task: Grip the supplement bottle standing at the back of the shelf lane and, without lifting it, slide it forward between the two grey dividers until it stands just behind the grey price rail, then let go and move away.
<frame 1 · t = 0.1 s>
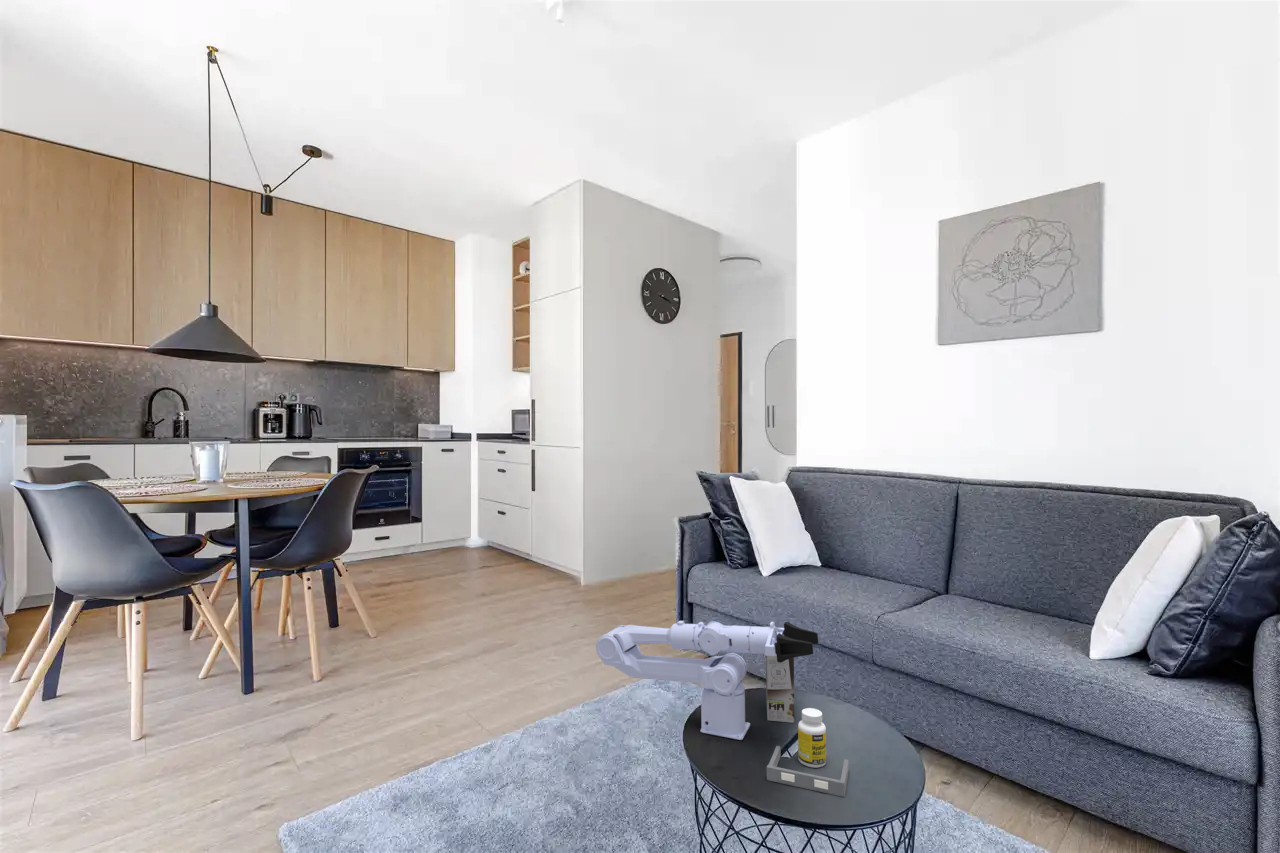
hand: (815, 643, 126), 22 cm above the table, tool horizontal, fingers open, 7 cm apart
price rail: (804, 787, 110), on the table
supplement bottle: (812, 762, 119), on the table
coffee box: (780, 714, 141), on the table
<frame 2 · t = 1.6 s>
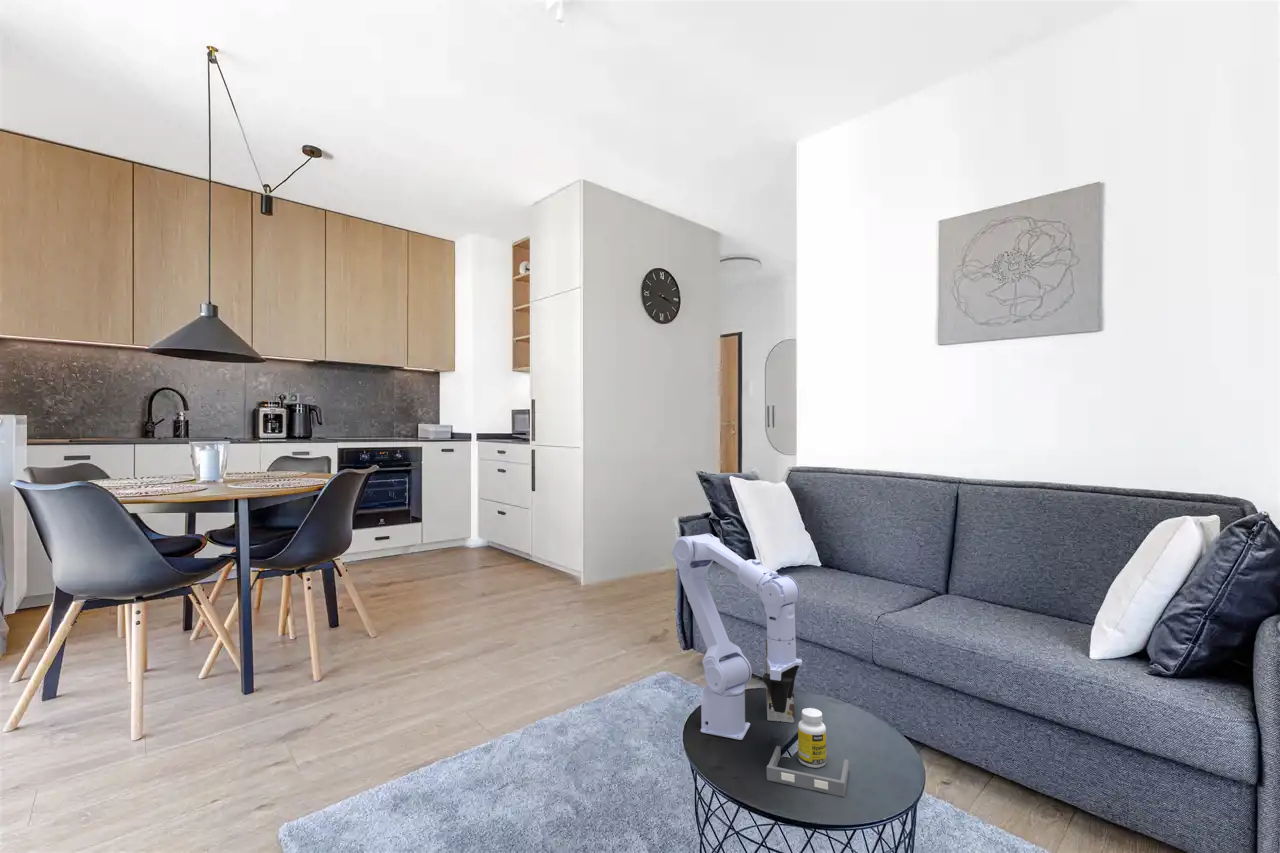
hand: (783, 704, 122), 10 cm above the table, tool pointing down, fingers open, 7 cm apart
nothing on the table moved.
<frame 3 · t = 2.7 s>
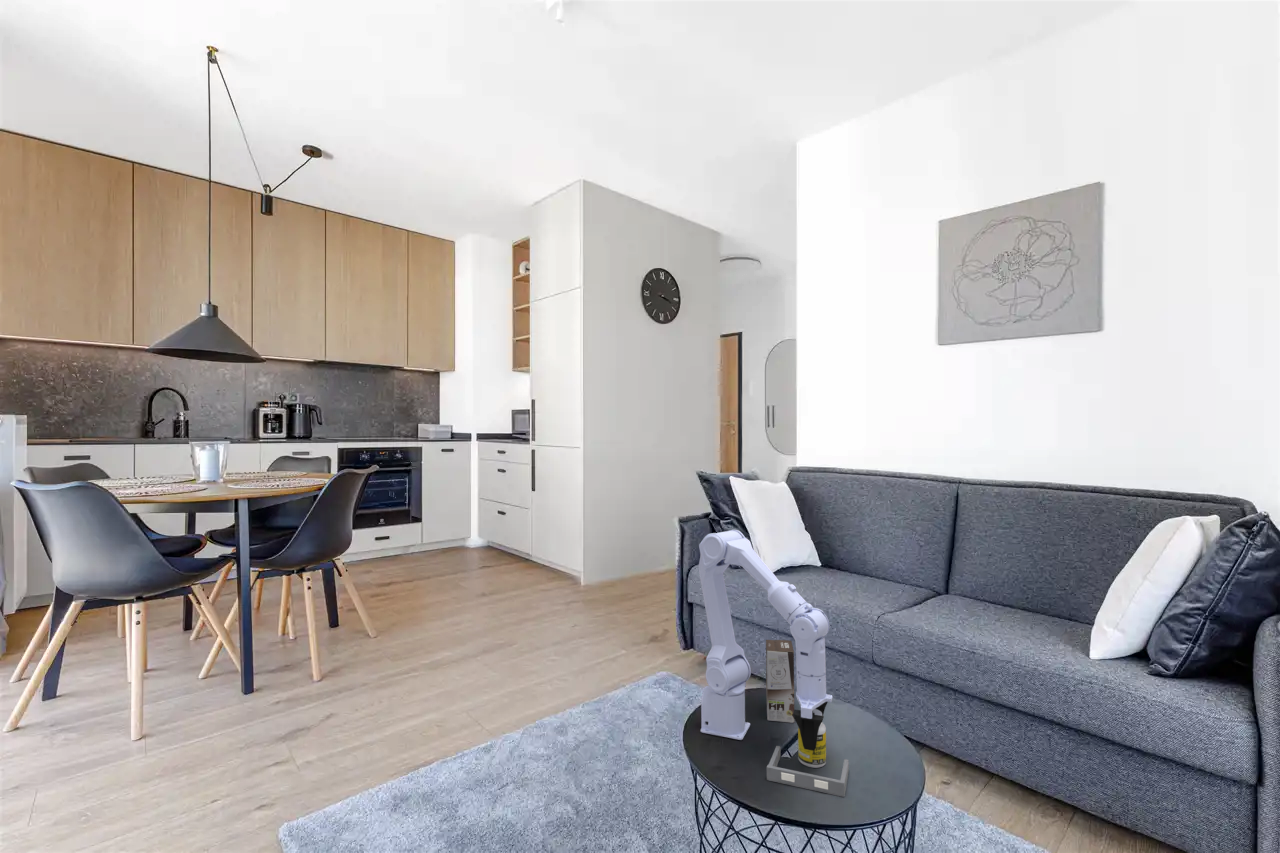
hand: (812, 740, 119), 4 cm above the table, tool pointing down, fingers open, 7 cm apart
nothing on the table moved.
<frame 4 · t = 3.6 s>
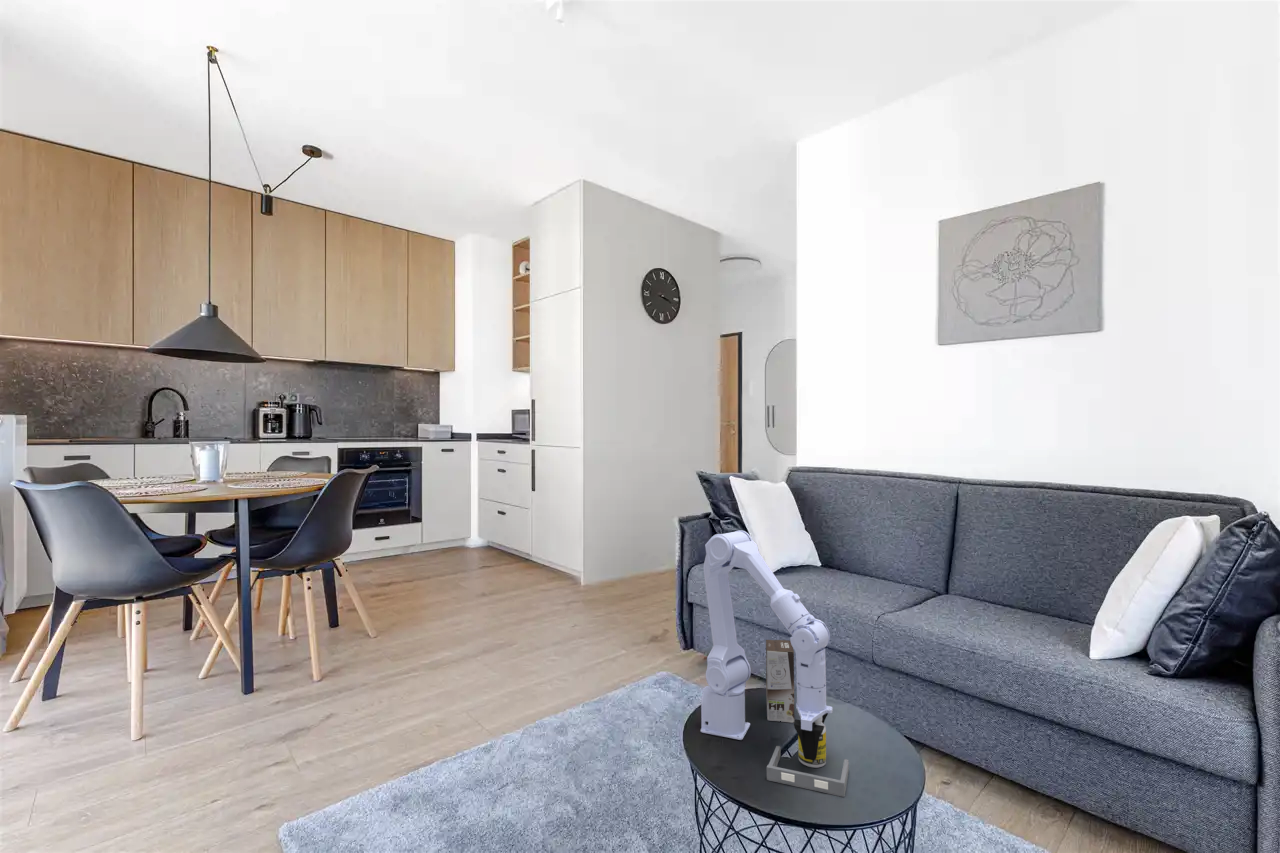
hand: (812, 751, 119), 2 cm above the table, tool pointing down, fingers closed on supplement bottle, 5 cm apart
supplement bottle: (812, 762, 119), on the table, touching gripper
everything else where it was.
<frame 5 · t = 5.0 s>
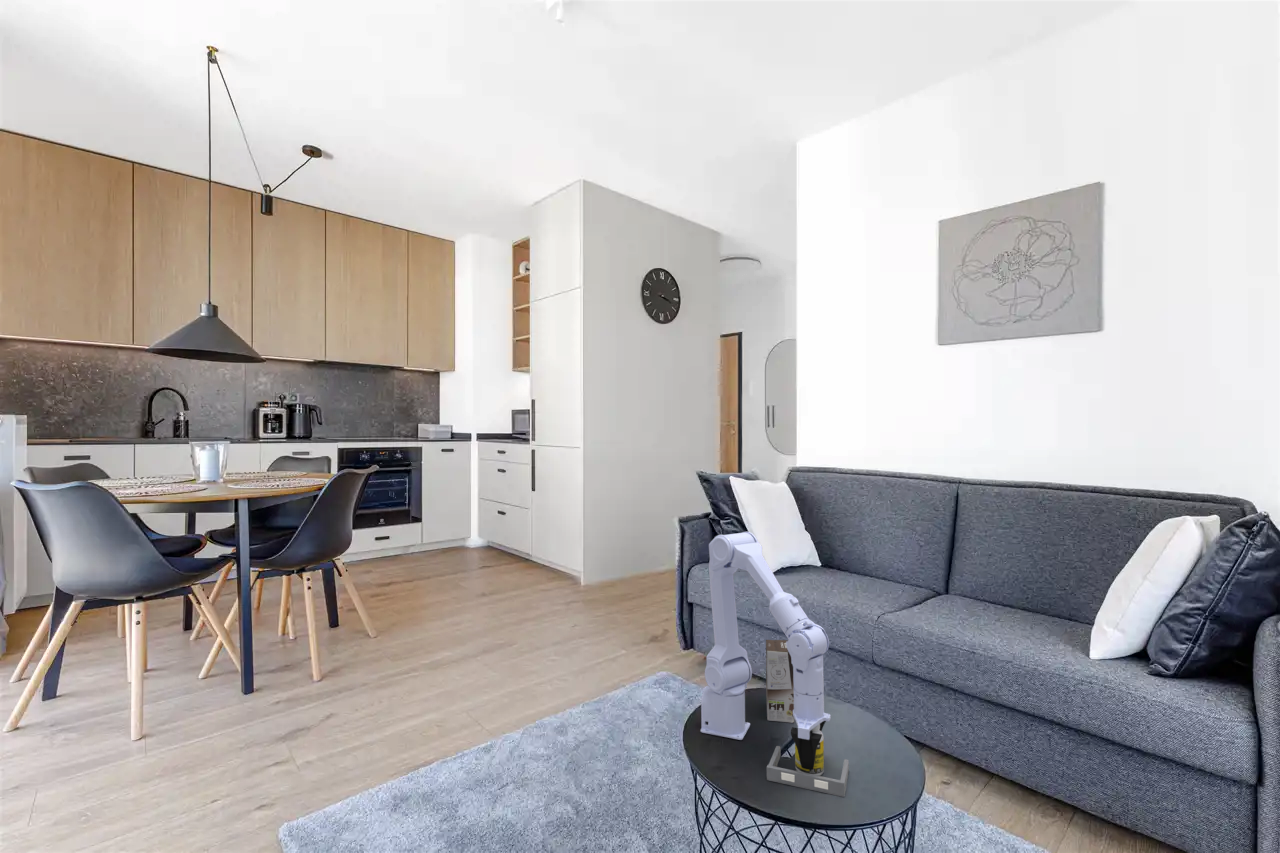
hand: (809, 760, 116), 2 cm above the table, tool pointing down, fingers closed on supplement bottle, 5 cm apart
supplement bottle: (809, 771, 116), on the table, touching gripper
everything else where it was.
when the fingers open (2 cm above the table, at t = 5.7 s): supplement bottle stays where it is, on the table.
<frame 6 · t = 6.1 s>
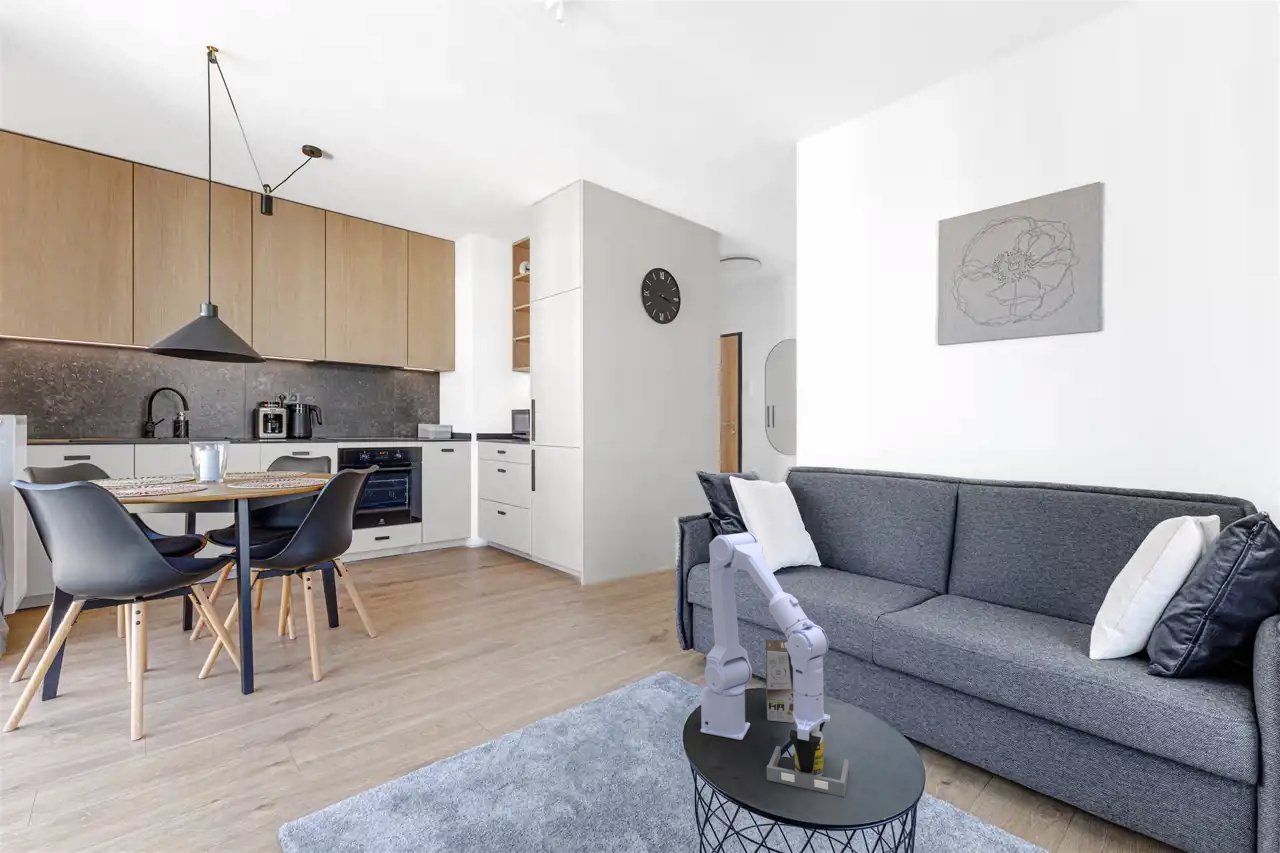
hand: (809, 761, 115), 2 cm above the table, tool pointing down, fingers open, 7 cm apart
supplement bottle: (809, 772, 115), on the table
everything else where it was.
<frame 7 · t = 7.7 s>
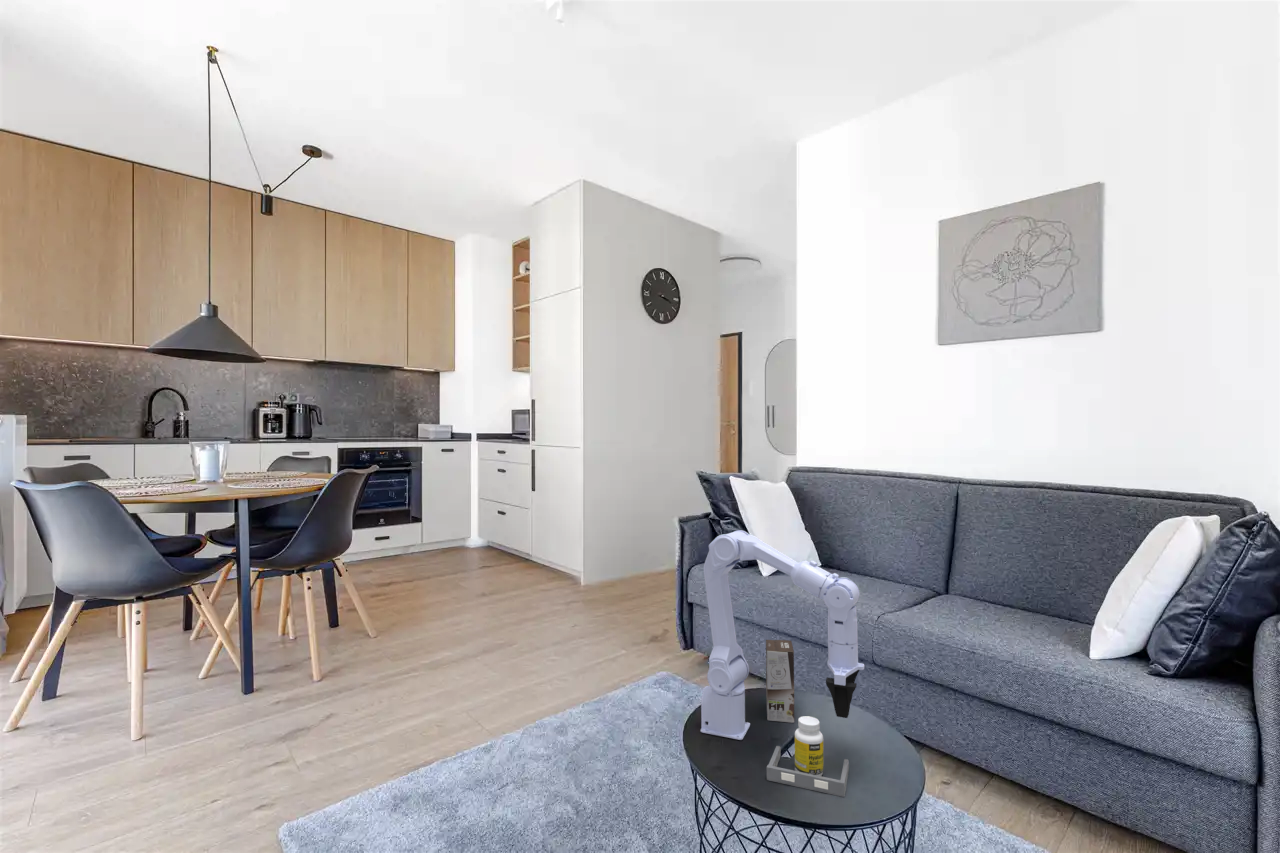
hand: (843, 708, 119), 10 cm above the table, tool pointing down, fingers open, 7 cm apart
nothing on the table moved.
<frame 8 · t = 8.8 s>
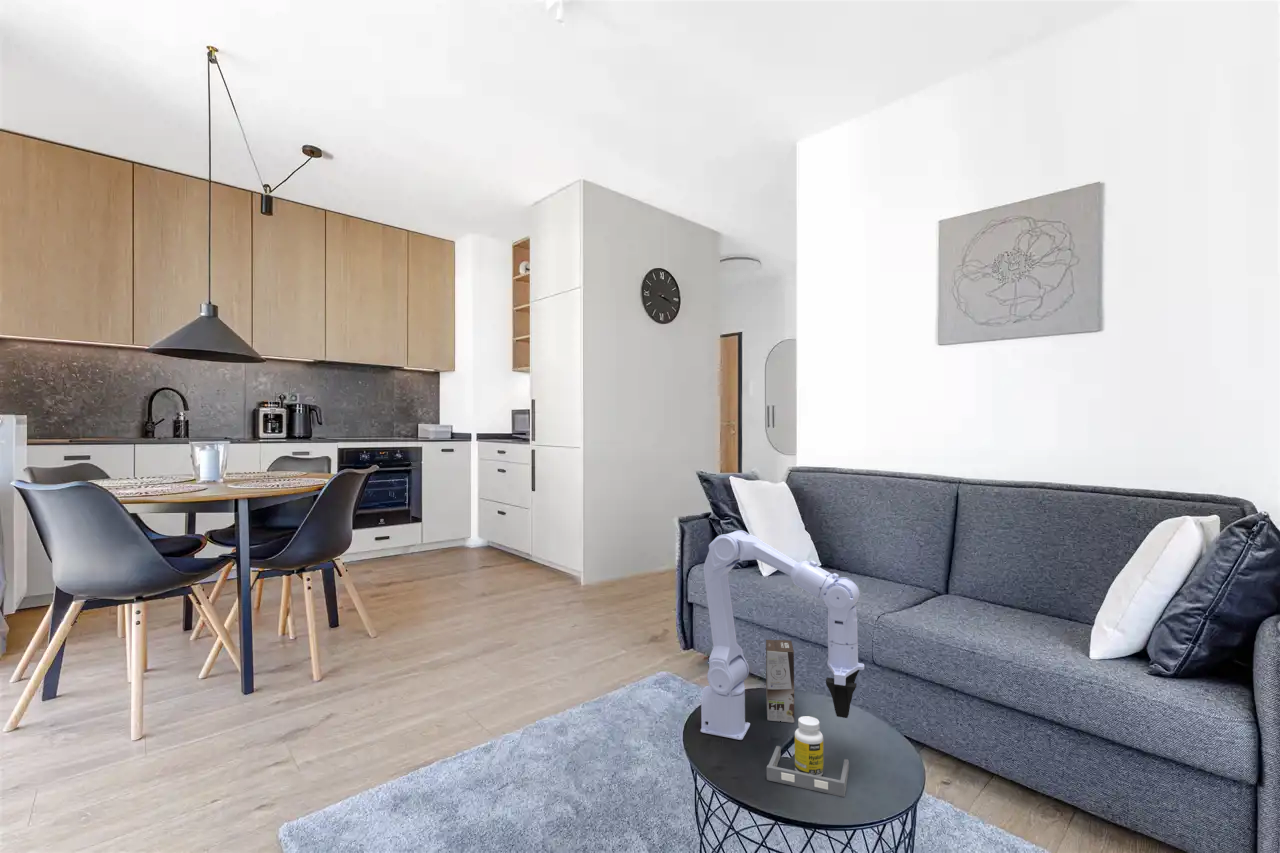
hand: (843, 708, 119), 10 cm above the table, tool pointing down, fingers open, 7 cm apart
nothing on the table moved.
at the end: supplement bottle inside the target area (1.0 cm from its centre), on the table; supplement bottle tilted 0°; the gripper is holding nothing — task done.
